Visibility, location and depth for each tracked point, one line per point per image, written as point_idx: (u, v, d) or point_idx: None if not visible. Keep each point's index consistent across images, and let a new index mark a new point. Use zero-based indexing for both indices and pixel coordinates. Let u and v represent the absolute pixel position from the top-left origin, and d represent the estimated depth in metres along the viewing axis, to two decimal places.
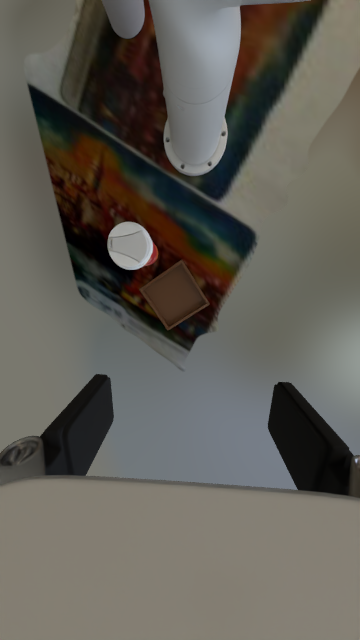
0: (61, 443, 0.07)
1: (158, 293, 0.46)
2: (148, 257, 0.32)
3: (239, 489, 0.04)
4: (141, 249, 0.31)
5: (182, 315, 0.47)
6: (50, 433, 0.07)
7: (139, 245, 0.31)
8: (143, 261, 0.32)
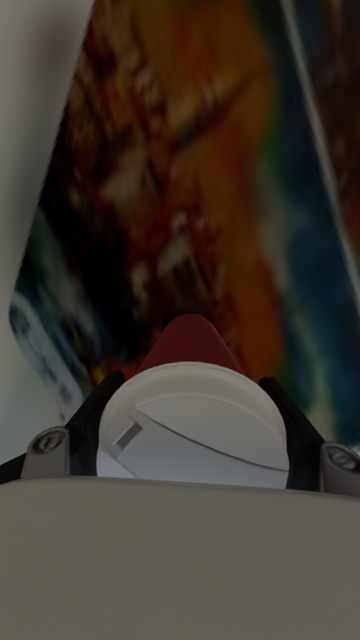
0: (85, 433, 0.07)
1: None
2: None
3: (239, 489, 0.04)
4: None
5: None
6: (75, 423, 0.07)
7: None
8: None
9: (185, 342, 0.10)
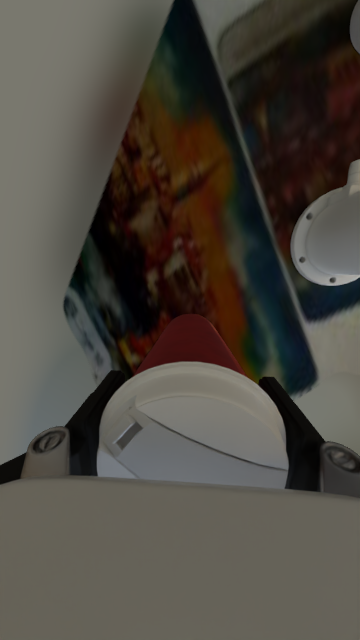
0: (85, 433, 0.07)
1: None
2: None
3: (239, 489, 0.04)
4: None
5: None
6: (76, 423, 0.07)
7: None
8: None
9: (185, 342, 0.10)
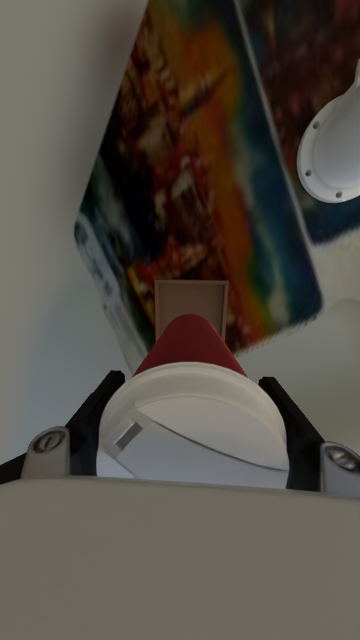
0: (85, 433, 0.07)
1: (173, 298, 0.33)
2: None
3: (239, 489, 0.04)
4: None
5: None
6: (76, 423, 0.07)
7: None
8: None
9: (185, 342, 0.10)
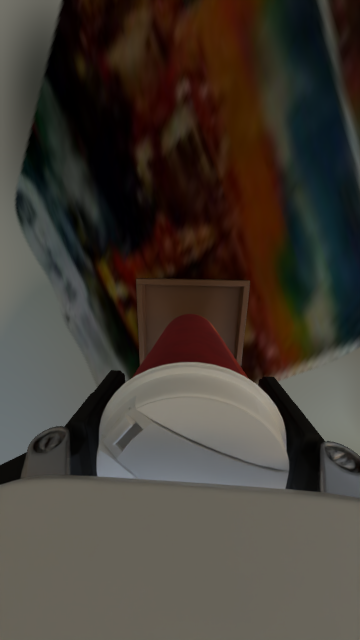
0: (85, 433, 0.07)
1: (165, 307, 0.22)
2: None
3: (239, 489, 0.04)
4: None
5: None
6: (76, 423, 0.07)
7: None
8: None
9: (185, 342, 0.10)
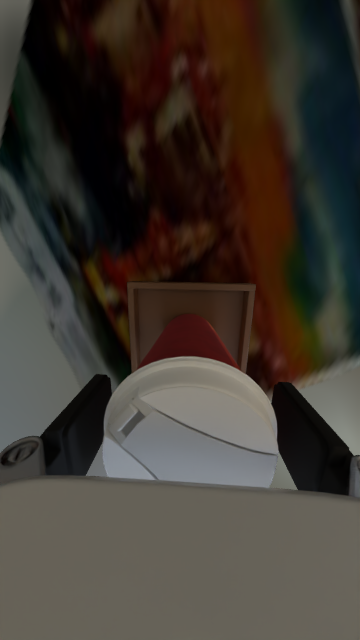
0: (61, 443, 0.07)
1: (161, 313, 0.20)
2: None
3: (239, 489, 0.04)
4: None
5: None
6: (50, 433, 0.07)
7: None
8: None
9: (184, 340, 0.11)
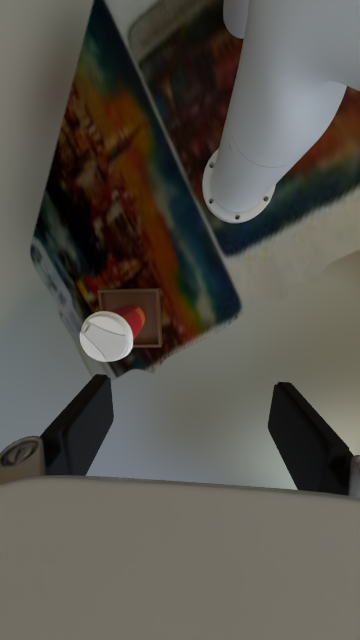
0: (61, 443, 0.07)
1: (116, 305, 0.39)
2: (119, 358, 0.28)
3: (239, 489, 0.04)
4: (115, 351, 0.27)
5: None
6: (50, 433, 0.07)
7: (115, 347, 0.26)
8: (112, 360, 0.28)
9: (110, 310, 0.30)
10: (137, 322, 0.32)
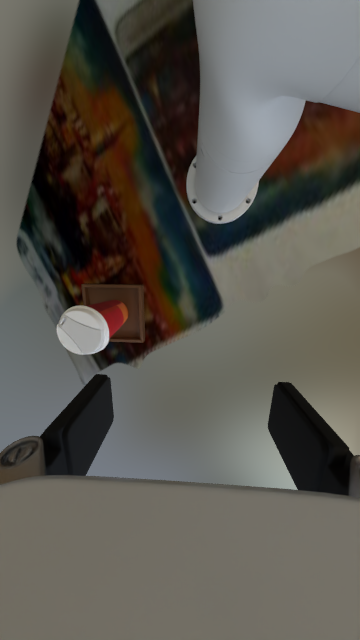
0: (61, 443, 0.07)
1: (101, 300, 0.40)
2: (96, 351, 0.29)
3: (239, 489, 0.04)
4: (91, 345, 0.27)
5: None
6: (50, 433, 0.07)
7: (91, 340, 0.27)
8: (88, 353, 0.29)
9: (90, 305, 0.31)
10: (117, 318, 0.33)
